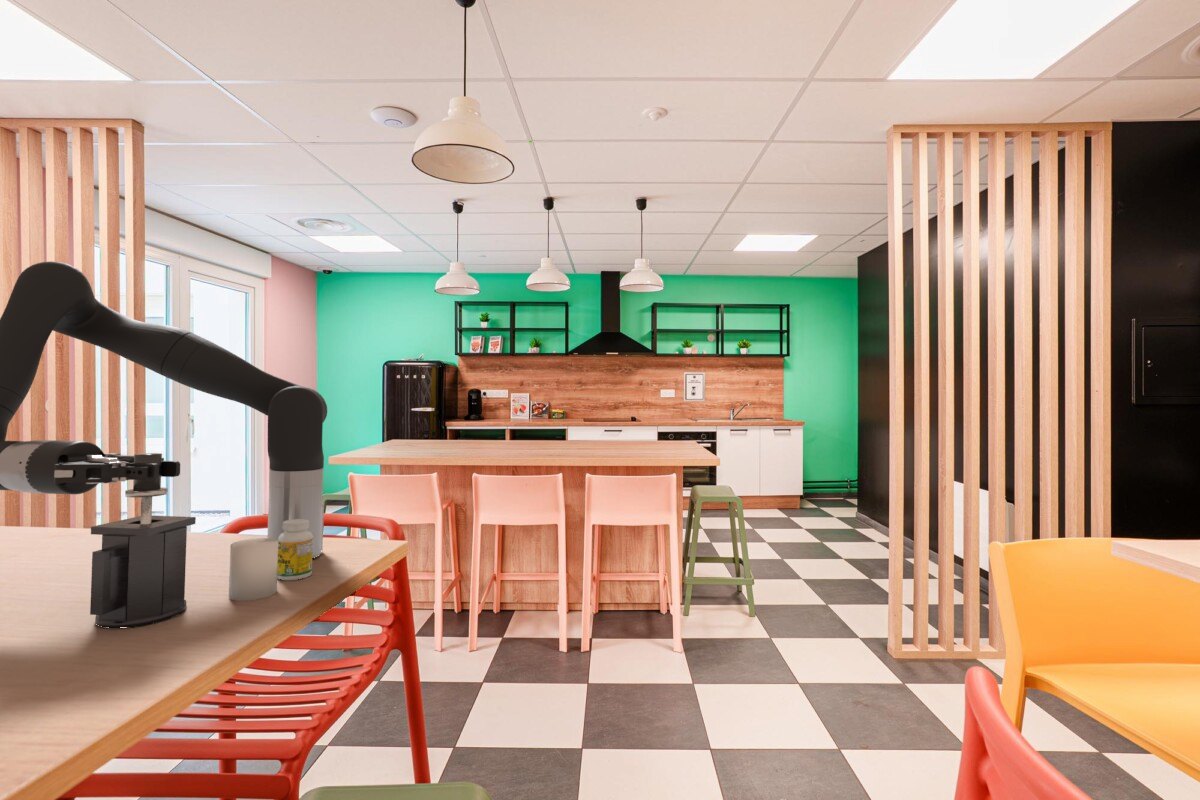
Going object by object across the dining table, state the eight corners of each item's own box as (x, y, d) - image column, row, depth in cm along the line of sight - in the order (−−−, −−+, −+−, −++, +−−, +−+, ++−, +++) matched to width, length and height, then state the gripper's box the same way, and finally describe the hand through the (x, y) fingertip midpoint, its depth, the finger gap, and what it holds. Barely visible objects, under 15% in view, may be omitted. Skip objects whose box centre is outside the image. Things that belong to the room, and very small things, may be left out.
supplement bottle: (318, 575, 96) (320, 520, 96) (288, 583, 92) (290, 525, 92) (299, 570, 99) (301, 516, 99) (269, 577, 94) (271, 521, 94)
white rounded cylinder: (247, 586, 90) (249, 537, 90) (285, 587, 89) (287, 538, 90) (218, 599, 83) (220, 547, 84) (259, 601, 83) (260, 548, 83)
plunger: (141, 597, 79) (147, 452, 80) (172, 599, 79) (177, 453, 79) (111, 609, 75) (117, 455, 75) (144, 610, 75) (149, 456, 75)
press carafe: (140, 600, 82) (143, 513, 82) (203, 603, 82) (206, 516, 82) (59, 632, 70) (63, 531, 71) (131, 636, 70) (135, 534, 70)
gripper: (-4, 443, 71) (122, 447, 70) (100, 437, 85) (207, 440, 84) (-7, 501, 71) (120, 506, 70) (98, 486, 85) (205, 489, 84)
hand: (167, 470), depth 77 cm, fingers closed on plunger, 3 cm apart
